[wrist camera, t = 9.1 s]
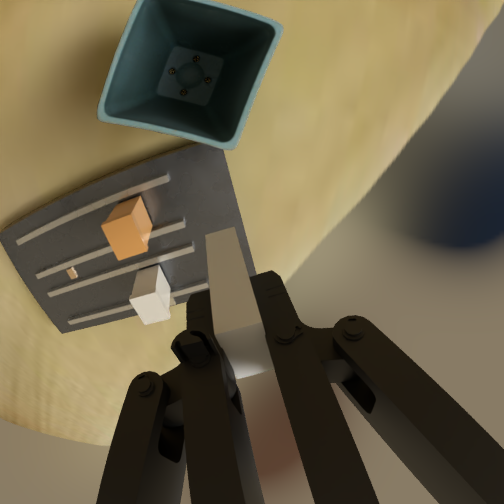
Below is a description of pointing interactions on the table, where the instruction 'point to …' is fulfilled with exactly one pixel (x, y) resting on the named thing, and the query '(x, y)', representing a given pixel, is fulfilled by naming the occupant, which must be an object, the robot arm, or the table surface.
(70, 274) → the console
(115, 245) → the fader orange
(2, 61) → the table surface
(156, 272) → the fader ivory
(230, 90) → the flower pot
